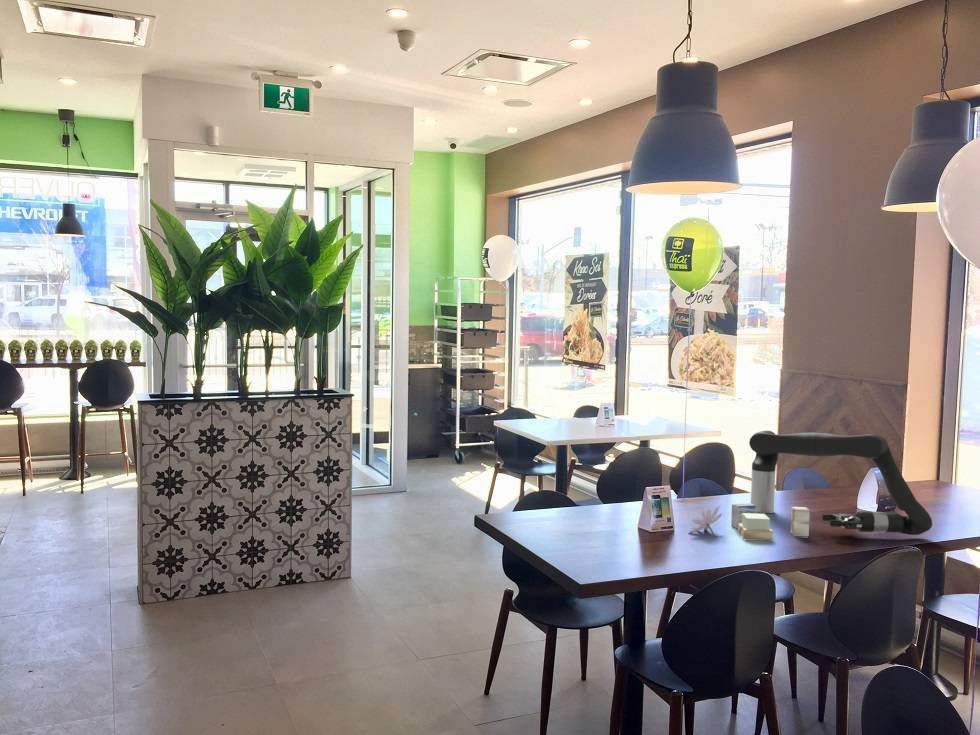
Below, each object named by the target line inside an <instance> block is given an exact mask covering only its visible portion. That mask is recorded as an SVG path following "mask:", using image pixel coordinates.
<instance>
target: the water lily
mask: <svg viewBox="0 0 980 735" xmlns="http://www.w3.org/2000/svg"><path fill="white" fill-rule="evenodd" d="M719 508H720V506H717V507H716V508H715V509H714V510H713V509H710V508H708V509H706V510H705V509H702V510H701V516H702V517H698V516H693V519H691V523H693V524H695V525H696V526H693V527H691V528H690V530H689V532H688V535H689V534H693V533H696V532H699V531H701V530H703V531H707V530H709V531H710V532H711V534H712V536H713V537H716V534H715V533H714V531H713V529H712V527H711V525H713V523H715V522H716V521H718V520H719V519H720V518H721V517H722V516H723V513H719V514H717V513H718V511H719Z"/></svg>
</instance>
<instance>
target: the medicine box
mask: <svg viewBox="0 0 980 735" xmlns="http://www.w3.org/2000/svg"><path fill="white" fill-rule="evenodd" d="M742 513H755V514H757V512H756V506H755V505H753V504H751V502H750V503H733V504H731V522H730V526H731V527H733V528H734V529H737V528H738V523H742Z"/></svg>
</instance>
